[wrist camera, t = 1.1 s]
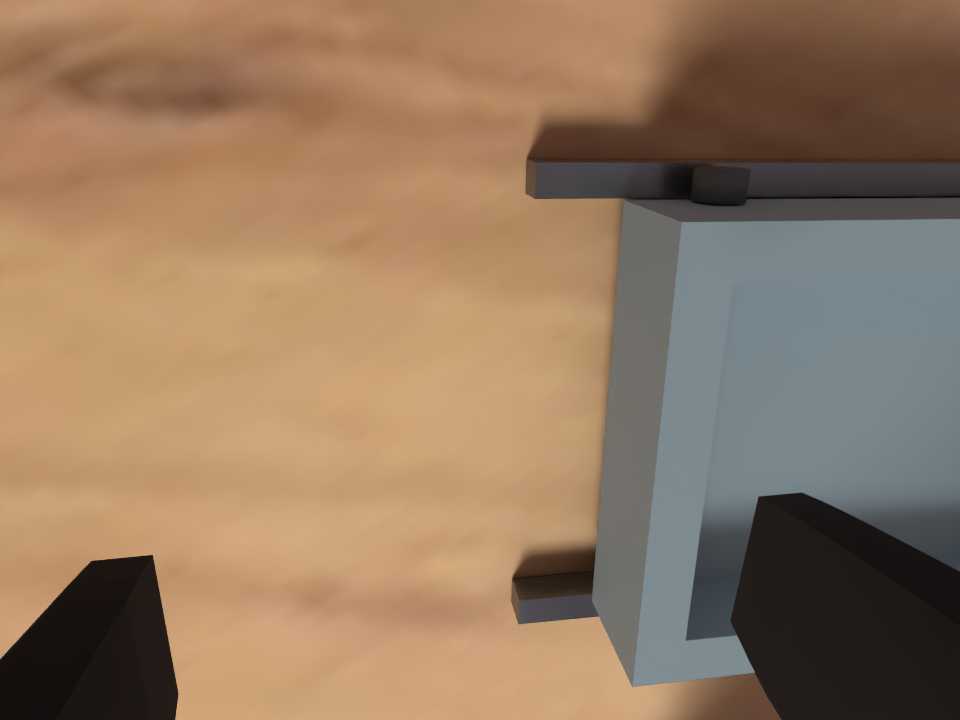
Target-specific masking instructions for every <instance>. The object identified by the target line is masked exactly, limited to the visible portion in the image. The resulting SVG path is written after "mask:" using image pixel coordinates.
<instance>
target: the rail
mask: <svg viewBox="0 0 960 720" xmlns="http://www.w3.org/2000/svg"><path fill="white" fill-rule="evenodd" d="M698 166H725V167H739V168H747V169H751V171H750V178H749V186H748V193H747V197H899V196H960V160H743V159H527V163H526V192H525V193H526V194H527V195H529V196H531V197H533V198H534V199H581V198H691V190H692V181H693V172H694V167H698ZM593 580H594V571H593V572H581V573H570V574H559V575H548V576H536V577H525V578H514V579H512V596H511V602H512V605H513V609H514V612H515V615H516V618H517V621H518V624H526V623H536V622H546V621H556V620H566V619H577V618H587V617H597V616H599V615H598V613H597V611H596V609H595V607H594V604H593V602H592V593H593Z"/></svg>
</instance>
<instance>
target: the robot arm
mask: <svg viewBox="0 0 960 720" xmlns="http://www.w3.org/2000/svg"><path fill="white" fill-rule="evenodd" d="M730 621H731V624H732V626H733V628H734V630H735V632H736V634H737V636H738V638H739V641H740V643H741V645H742V647H743V649H744V651H745V653H746V656H747V658H748V660H749V662H750V664H751V666H752V668H753V670H754V672H755V674H756V676H757V677H758V679H759V681H760V683H761V685H762V687H763V689H764V691H765V693H766V695H767V697H768V698H769V700H770V702H771V703H772V705H773V706H774V708H775V710H776V711H777V713H778V714H779V716H780V717H781V719H782V720H960V571H958V570H956V569H954V568H952V567H950V566H949V565H947V564H945V563H943V562H941V561H939V560H937V559H935V558H933V557H931V556H929V555H927V554H926V553H924V552H922V551H920V550H918V549H916V548H914V547H912V546H910V545H908V544H906V543H904V542H903V541H901V540H899V539H897V538H895V537H893V536H891V535H889V534H887V533H885V532H883V531H881V530H879V529H878V528H876V527H874V526H872V525H870V524H868V523H866V522H864V521H862V520H860V519H858V518H856V517H854V516H852V515H850V514H848V513H846V512H844V511H842V510H840V509H838V508H836V507H834V506H831V505H829V504H827V503H825V502H823V501H821V500H818V499H816V498H814V497H811V496H809V495H807V494H804V493H802V492H801V493H790V494H780V495H769V496H759V497H758V501H757V505H756V510H755V514H754V518H753V523H752V527H751V532H750V536H749V540H748V545H747V549H746V554H745V558H744V563H743V567H742V571H741V576H740V580H739V585H738V589H737V593H736V598H735V602H734V607H733V611H732V615H731V620H730ZM177 701H178V689H177V684H176V679H175V673H174V668H173V662H172V657H171V652H170V646H169V641H168V635H167V630H166V625H165V619H164V614H163V608H162V603H161V598H160V592H159V587H158V581H157V576H156V571H155V565H154V560H153V555H149V556H138V557H128V558H117V559H107V560H97V561H91V562H90V563H89V564H88V565H87V566H86V567H85V568H84V569H83V570H82V571H81V572H80V573H79V575H78V576H77V577H76V578H75V579H74V580H73V581H72V582H71V583H70V584H69V585H68V586H67V587H66V588H65V589H64V590H63V592H62V593H61V594H60V595H59V596H58V597H57V598H56V599H55V600H54V601H53V602H52V604H51V605H50V606H49V607H48V608H47V609H46V610H45V611H44V612H43V613H42V614H41V616H40V617H39V618H38V619H37V620H36V621H35V622H34V623H33V624H32V625H31V626H30V628H29V629H28V630H27V631H26V632H25V633H24V634H23V635H22V636H21V637H20V638H19V639H18V641H17V642H16V643H15V644H14V645H13V646H12V647H11V648H10V649H9V650H8V651H7V652H6V654H5V655H4V656H3V657H2V658H1V659H0V720H175V717H176V709H177Z"/></svg>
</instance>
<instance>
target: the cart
mask: <svg viewBox="0 0 960 720" xmlns="http://www.w3.org/2000/svg"><path fill="white" fill-rule="evenodd" d="M750 171H751V169H747V168H739V167H725V166H698V167H694V172H693V181H692V190H691V200H624V201H623V213H622V226H621V239H620V251H619V264H618V277H617V289H616V302H615V314H614V327H613V340H612V352H611V365H610V378H609V390H608V403H607V416H606V428H605V441H604V454H603V466H602V479H601V492H600V504H599V517H598V530H597V542H596V555H595V568H594V580H593V593H592V602H593V604H594V607H595V609H596V611H597V613H598V615H599V617H600V619H601V621H602V623H603V626H604V628H605V630H606V632H607V634H608V636H609V638H610V640H611V643H612V645H613V647H614V649H615V651H616V653H617V655H618V657H619V659H620V662H621V664H622V666H623V668H624V670H625V672H626V674H627V676H628V679H629V681H630V683H631V685H632V687H636V686H645V685H653V684H662V683H671V682H680V681H688V680H697V679H706V678H714V677H723V676H732V675H741V674H749V673H755V672H754V670H753V668H752V666H751V664H750V662H749V660H748V658H747V656H746V653H745V651H744V649H743V647H742V645H741V643H740V641H739V638H738V636H737V634H736V632H735V630H734V628H733V626H732V624H731V621H730V620H731V615H732V611H733V607H734V602H735V598H736V593H737V589H738V585H739V580H740V576H741V571H742V567H743V563H744V558H745V554H746V549H747V545H748V540H749V536H750V532H751V527H752V523H753V518H754V514H755V510H756V505H757V501H758V497H759V496H769V495H780V494H790V493H801V492H802V493H804V494H807V495H809V496H811V497H814V498H816V499H818V500H821V501H823V502H825V503H827V504H829V505H831V506H834V507H836V508H838V509H840V510H842V511H844V512H846V513H848V514H850V515H852V516H854V517H856V518H858V519H860V520H862V521H864V522H866V523H868V524H870V525H872V526H874V527H876V528H878V529H879V530H881V531H883V532H885V533H887V534H889V535H891V536H893V537H895V538H897V539H899V540H901V541H903V542H904V543H906V544H908V545H910V546H912V547H914V548H916V549H918V550H920V551H922V552H924V553H926V554H927V555H929V556H931V557H933V558H935V559H937V560H939V561H941V562H943V563H945V564H947V565H949V566H950V567H952V568H954V569H956V570H958V571H960V198H842V199H747V193H748V186H749V178H750Z"/></svg>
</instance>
